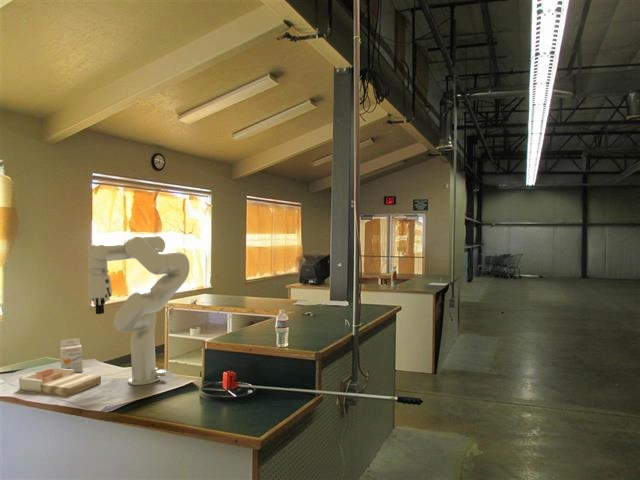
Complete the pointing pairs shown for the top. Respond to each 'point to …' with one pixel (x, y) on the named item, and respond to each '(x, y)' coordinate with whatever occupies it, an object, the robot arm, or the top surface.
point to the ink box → (71, 355)
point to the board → (70, 384)
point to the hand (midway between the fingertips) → (100, 313)
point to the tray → (34, 384)
